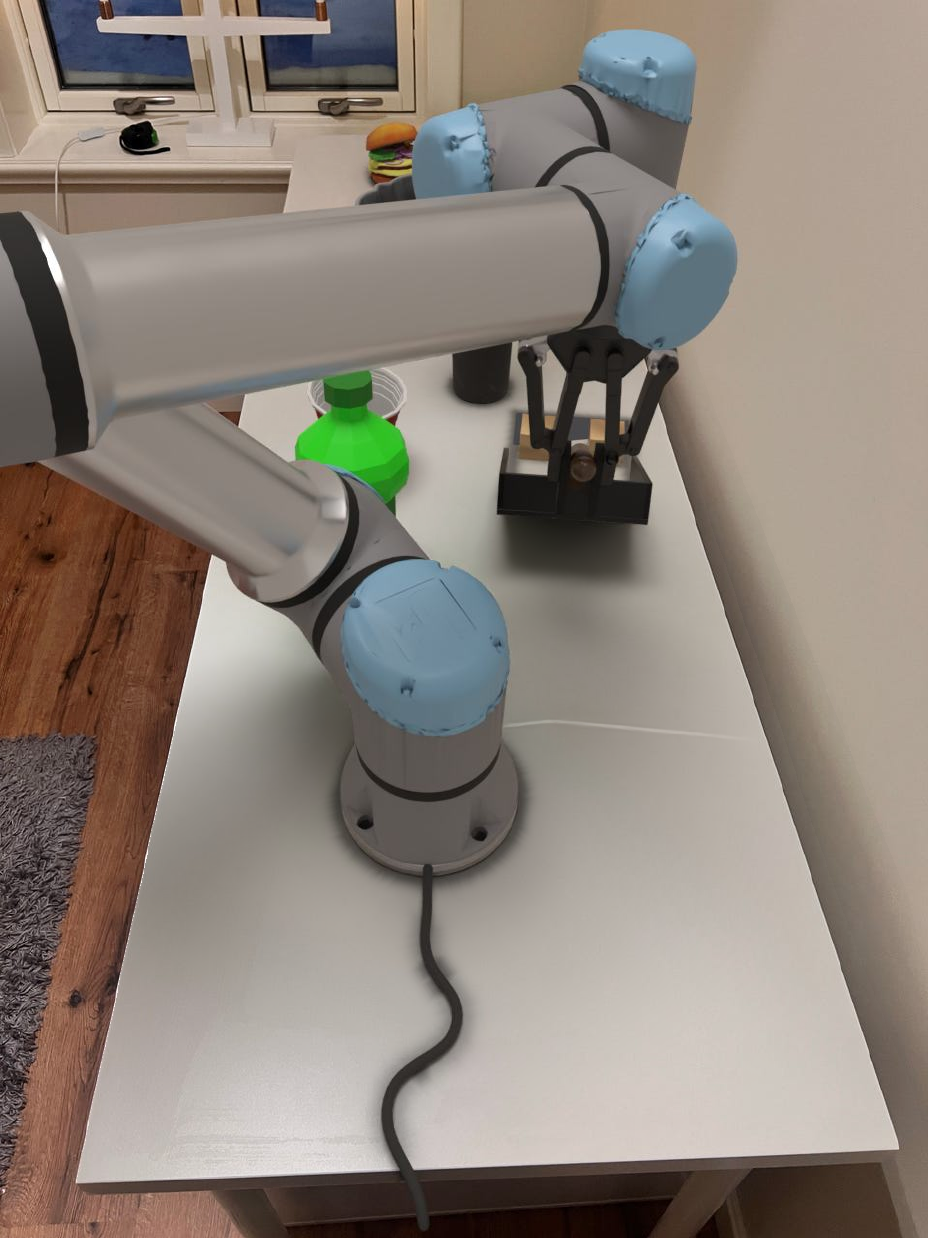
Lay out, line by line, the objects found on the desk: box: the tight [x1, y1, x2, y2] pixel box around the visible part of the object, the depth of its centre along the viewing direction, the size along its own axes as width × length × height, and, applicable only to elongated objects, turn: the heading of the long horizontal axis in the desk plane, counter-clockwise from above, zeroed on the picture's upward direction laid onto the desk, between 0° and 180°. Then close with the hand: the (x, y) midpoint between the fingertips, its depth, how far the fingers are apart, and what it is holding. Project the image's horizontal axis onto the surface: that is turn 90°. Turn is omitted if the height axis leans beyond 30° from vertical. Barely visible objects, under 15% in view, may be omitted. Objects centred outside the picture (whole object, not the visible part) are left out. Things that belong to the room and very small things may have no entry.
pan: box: [496, 442, 654, 526], centre depth 95 cm, size 26×15×8 cm, turn 175°
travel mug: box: [451, 342, 514, 404], centre depth 115 cm, size 8×8×20 cm
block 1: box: [518, 414, 556, 462], centre depth 112 cm, size 4×4×4 cm
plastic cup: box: [306, 367, 408, 427], centre depth 106 cm, size 11×11×12 cm
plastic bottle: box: [294, 370, 410, 518], centre depth 89 cm, size 10×10×25 cm
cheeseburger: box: [365, 121, 418, 184], centre depth 161 cm, size 10×11×10 cm
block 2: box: [586, 418, 625, 468], centre depth 112 cm, size 4×4×4 cm
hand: (575, 505), depth 89 cm, fingers closed on pan, 2 cm apart
